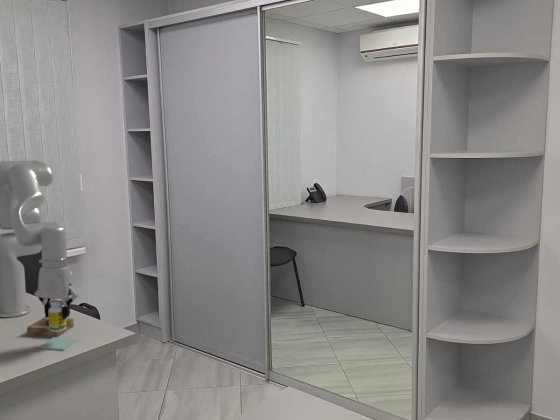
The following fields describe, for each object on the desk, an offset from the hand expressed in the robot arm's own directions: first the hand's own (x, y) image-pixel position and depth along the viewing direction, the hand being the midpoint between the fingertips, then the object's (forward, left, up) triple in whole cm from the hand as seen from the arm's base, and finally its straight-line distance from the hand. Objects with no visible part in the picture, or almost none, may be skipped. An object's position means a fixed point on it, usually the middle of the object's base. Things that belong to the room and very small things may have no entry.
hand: (57, 316), depth 182 cm
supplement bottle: (0, 0, -5) cm, 5 cm away
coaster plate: (0, 0, -10) cm, 10 cm away
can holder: (-10, +11, -10) cm, 18 cm away
